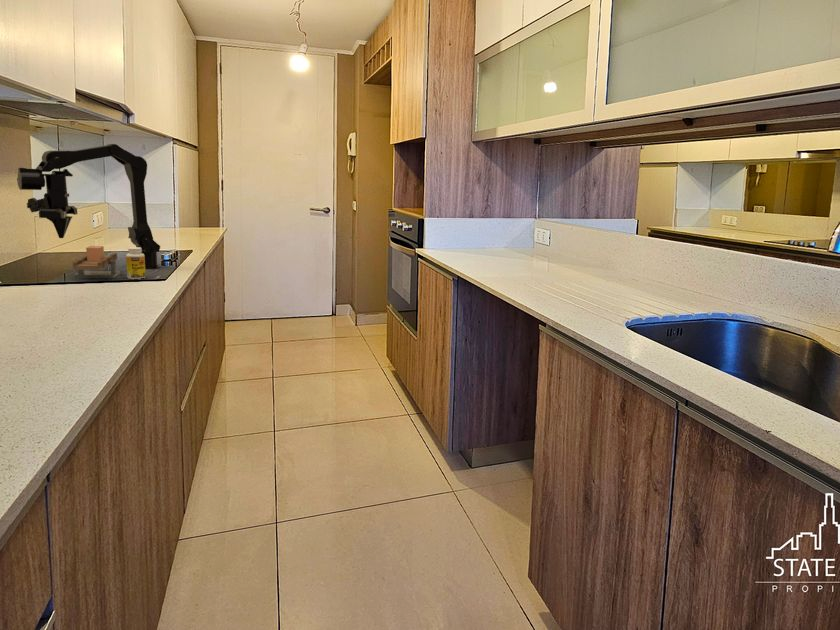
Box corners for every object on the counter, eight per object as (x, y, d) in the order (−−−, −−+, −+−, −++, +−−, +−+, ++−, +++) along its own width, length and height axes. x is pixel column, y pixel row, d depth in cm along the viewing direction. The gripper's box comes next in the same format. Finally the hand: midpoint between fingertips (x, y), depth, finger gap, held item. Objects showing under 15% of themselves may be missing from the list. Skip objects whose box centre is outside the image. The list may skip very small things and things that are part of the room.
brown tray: (92, 258, 206) (91, 252, 205) (117, 259, 208) (116, 252, 207) (73, 269, 185) (72, 262, 185) (101, 269, 187) (100, 262, 187)
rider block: (91, 259, 198) (90, 245, 197) (104, 259, 199) (103, 246, 198) (87, 261, 194) (86, 247, 193) (100, 261, 195) (99, 248, 194)
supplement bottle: (130, 280, 192) (128, 249, 190) (125, 277, 196) (122, 247, 194) (148, 279, 196) (146, 248, 194) (142, 276, 200) (140, 246, 198)
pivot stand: (81, 273, 200) (79, 259, 199) (119, 273, 203) (118, 259, 202) (74, 277, 192) (72, 262, 191) (114, 277, 195) (113, 262, 194)
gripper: (39, 188, 199) (43, 234, 202) (17, 190, 181) (23, 240, 185) (75, 189, 202) (79, 235, 205) (58, 191, 184) (62, 241, 188)
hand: (61, 238), depth 196 cm, fingers closed
